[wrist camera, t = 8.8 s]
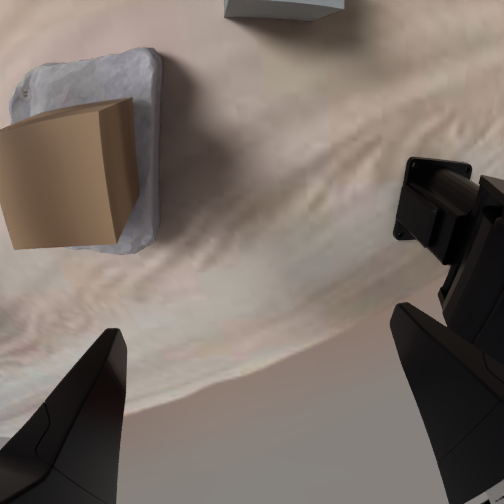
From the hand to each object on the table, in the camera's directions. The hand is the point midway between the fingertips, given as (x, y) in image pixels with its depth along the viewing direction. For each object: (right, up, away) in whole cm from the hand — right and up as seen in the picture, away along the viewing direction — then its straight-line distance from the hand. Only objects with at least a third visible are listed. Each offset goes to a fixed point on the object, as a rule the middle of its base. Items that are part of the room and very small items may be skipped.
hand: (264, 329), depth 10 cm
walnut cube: (-8, +7, +4) cm, 12 cm away
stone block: (-11, +9, +8) cm, 16 cm away
